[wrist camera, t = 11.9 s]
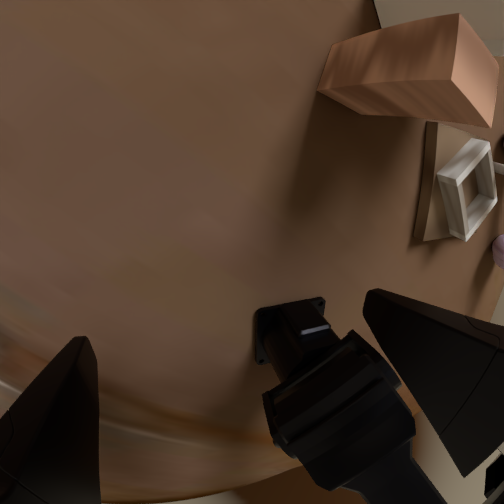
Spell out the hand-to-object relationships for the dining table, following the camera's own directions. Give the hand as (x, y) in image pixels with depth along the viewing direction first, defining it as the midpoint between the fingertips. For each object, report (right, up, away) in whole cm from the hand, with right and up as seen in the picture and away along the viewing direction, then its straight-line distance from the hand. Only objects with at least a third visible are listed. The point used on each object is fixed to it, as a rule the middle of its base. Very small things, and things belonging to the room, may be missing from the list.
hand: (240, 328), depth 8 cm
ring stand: (+23, +10, +18) cm, 31 cm away
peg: (+8, +16, +11) cm, 20 cm away
